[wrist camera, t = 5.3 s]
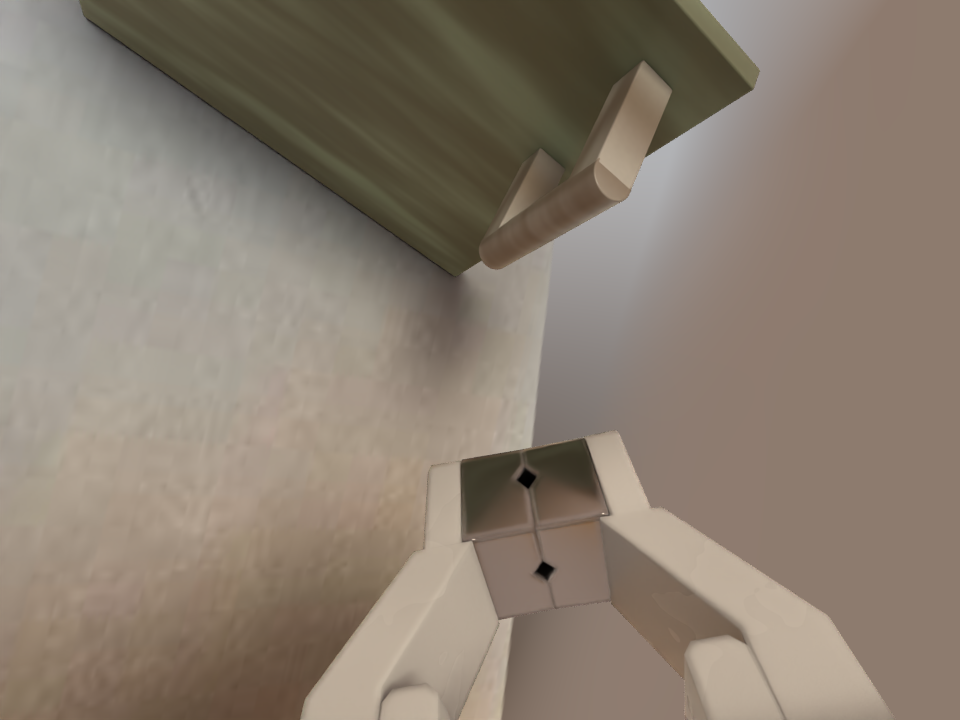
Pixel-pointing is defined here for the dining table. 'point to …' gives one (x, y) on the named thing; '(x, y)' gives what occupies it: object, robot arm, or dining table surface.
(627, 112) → the door
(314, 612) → the dining table surface
